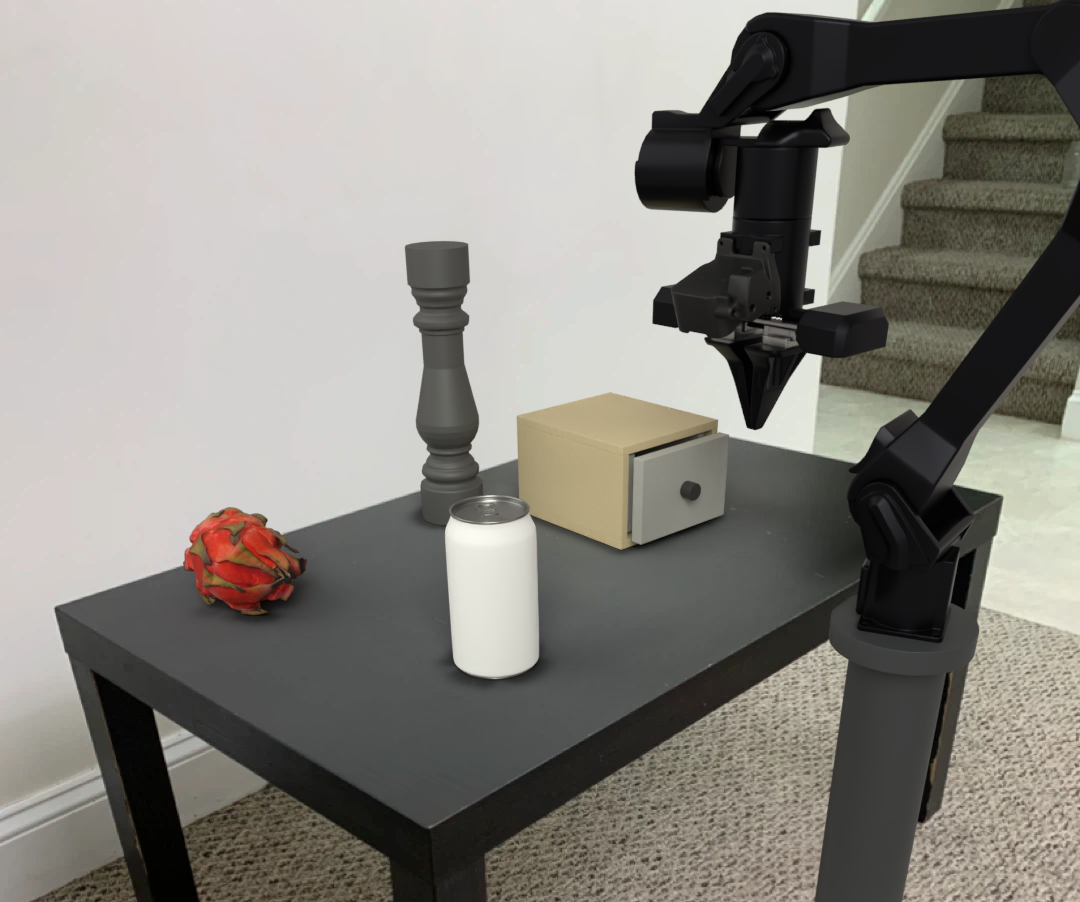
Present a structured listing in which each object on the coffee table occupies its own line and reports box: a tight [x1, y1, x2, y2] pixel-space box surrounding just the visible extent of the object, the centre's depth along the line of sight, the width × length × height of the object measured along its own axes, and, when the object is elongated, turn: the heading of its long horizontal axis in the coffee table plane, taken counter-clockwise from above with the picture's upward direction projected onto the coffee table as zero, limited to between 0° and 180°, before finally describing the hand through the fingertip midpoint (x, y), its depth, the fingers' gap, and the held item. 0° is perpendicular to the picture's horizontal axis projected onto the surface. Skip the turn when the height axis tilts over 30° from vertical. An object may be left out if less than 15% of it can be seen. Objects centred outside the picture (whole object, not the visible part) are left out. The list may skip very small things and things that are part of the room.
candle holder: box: [404, 240, 484, 526], centre depth 103 cm, size 6×6×25 cm
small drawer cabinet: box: [516, 391, 719, 551], centre depth 106 cm, size 15×13×10 cm
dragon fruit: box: [182, 506, 308, 616], centre depth 90 cm, size 8×8×12 cm
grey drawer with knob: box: [627, 431, 730, 546], centre depth 104 cm, size 15×11×8 cm
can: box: [444, 494, 540, 681], centre depth 79 cm, size 6×6×12 cm
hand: (754, 428), depth 88 cm, fingers closed
